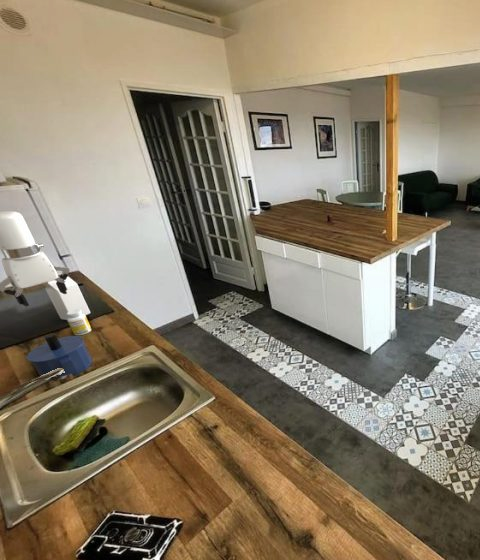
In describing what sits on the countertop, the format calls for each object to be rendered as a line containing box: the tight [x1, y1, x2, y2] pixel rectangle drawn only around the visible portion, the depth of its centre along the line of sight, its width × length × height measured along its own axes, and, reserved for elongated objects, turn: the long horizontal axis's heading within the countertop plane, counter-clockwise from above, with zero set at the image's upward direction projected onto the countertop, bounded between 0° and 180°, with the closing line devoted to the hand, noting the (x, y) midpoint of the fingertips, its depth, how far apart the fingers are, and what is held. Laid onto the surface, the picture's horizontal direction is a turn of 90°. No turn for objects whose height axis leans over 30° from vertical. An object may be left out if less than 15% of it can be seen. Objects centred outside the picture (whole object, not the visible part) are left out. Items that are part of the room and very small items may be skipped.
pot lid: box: [26, 333, 85, 363], centre depth 102 cm, size 14×14×6 cm
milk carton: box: [44, 276, 91, 321], centre depth 133 cm, size 7×7×19 cm
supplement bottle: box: [66, 310, 92, 336], centre depth 125 cm, size 5×5×10 cm
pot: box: [31, 343, 93, 379], centre depth 105 cm, size 13×18×8 cm
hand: (45, 298), depth 105 cm, fingers open, 9 cm apart
